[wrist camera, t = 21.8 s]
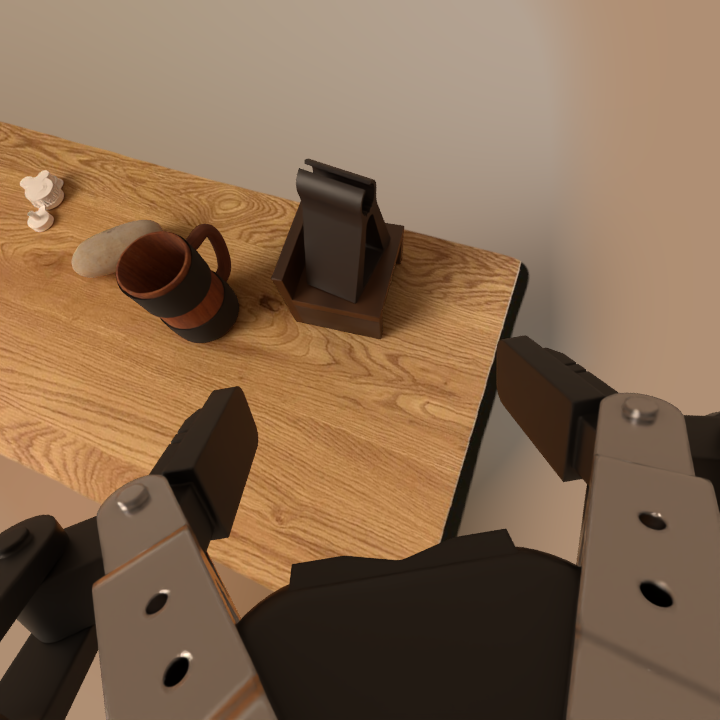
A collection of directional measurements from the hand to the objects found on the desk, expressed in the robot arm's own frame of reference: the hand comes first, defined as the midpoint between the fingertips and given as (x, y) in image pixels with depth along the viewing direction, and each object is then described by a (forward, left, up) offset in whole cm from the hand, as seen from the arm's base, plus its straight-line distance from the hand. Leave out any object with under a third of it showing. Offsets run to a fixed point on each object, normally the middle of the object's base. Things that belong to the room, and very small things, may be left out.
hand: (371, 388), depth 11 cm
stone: (+40, -17, -29) cm, 52 cm away
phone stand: (+8, -19, -23) cm, 31 cm away
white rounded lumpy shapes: (+59, -24, -29) cm, 70 cm away
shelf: (+8, -19, -29) cm, 35 cm away
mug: (+25, -13, -29) cm, 41 cm away
